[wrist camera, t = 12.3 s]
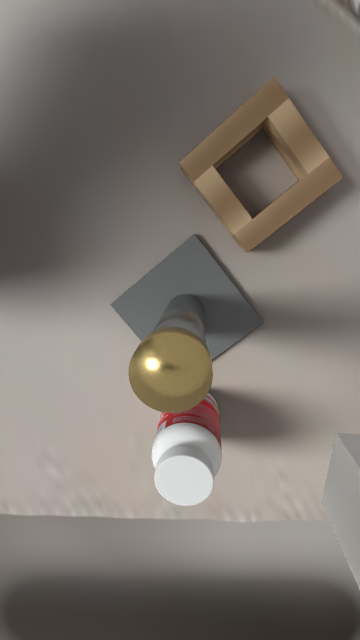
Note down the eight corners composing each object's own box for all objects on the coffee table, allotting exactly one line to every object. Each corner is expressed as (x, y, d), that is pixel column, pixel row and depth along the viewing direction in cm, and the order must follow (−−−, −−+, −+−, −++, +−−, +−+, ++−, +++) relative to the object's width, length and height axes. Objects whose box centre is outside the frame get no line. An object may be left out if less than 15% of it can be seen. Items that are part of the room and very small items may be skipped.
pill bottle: (164, 382, 36) (145, 442, 25) (221, 386, 35) (226, 450, 24) (162, 432, 37) (143, 510, 26) (216, 437, 37) (220, 519, 26)
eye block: (181, 169, 30) (179, 162, 28) (267, 93, 28) (273, 76, 25) (244, 251, 32) (247, 252, 29) (330, 183, 30) (343, 177, 27)
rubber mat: (112, 303, 34) (110, 304, 33) (194, 234, 32) (194, 234, 31) (178, 381, 35) (178, 384, 35) (262, 321, 33) (263, 322, 33)
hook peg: (161, 333, 34) (127, 409, 18) (163, 289, 33) (129, 331, 17) (206, 337, 33) (208, 416, 18) (210, 292, 32) (216, 338, 17)
